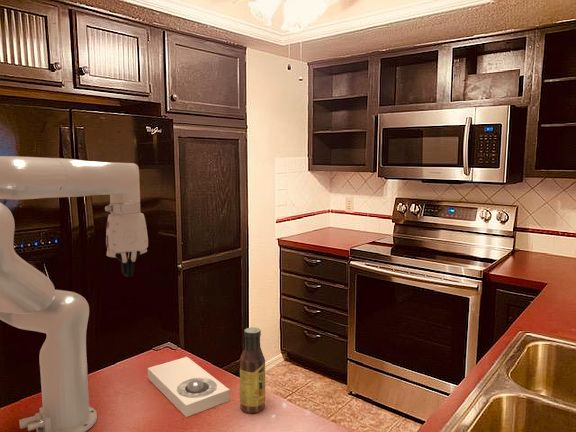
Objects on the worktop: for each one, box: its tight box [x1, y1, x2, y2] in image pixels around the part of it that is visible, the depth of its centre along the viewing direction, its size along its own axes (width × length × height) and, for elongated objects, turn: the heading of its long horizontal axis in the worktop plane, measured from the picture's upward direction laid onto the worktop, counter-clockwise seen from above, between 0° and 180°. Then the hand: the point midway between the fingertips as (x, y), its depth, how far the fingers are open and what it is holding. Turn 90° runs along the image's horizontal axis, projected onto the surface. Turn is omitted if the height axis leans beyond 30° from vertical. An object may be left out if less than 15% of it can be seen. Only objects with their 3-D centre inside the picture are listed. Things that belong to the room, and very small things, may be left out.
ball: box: [187, 380, 205, 394], centre depth 117 cm, size 4×4×4 cm
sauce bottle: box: [239, 327, 266, 414], centre depth 112 cm, size 6×6×20 cm
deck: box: [146, 356, 231, 418], centre depth 121 cm, size 12×24×3 cm, turn 38°
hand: (128, 275), depth 124 cm, fingers closed
